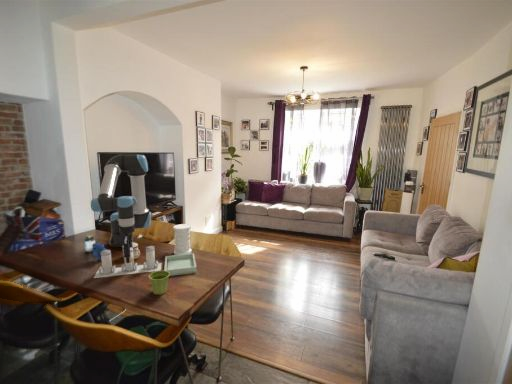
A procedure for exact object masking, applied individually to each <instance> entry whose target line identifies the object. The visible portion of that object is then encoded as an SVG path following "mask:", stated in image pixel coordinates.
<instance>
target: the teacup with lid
mask: <svg viewBox="0 0 512 384" xmlns="http://www.w3.org/2000/svg"><path fill="white" fill-rule="evenodd" d="M132 246H133V250H134V252H133V256H134V260H136V259H138V258H139V257H140V256H141V251H140V249H139V244H138V243H137V242H134V241H133V242H132ZM121 248H122V258H123V260H124V257H123V256H124V246H122V247H121Z"/></svg>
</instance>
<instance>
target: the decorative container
mask: <svg viewBox="0 0 512 384" xmlns="http://www.w3.org/2000/svg"><path fill="white" fill-rule="evenodd" d="M173 230H174V232H173V234H174V250H173V254H174V255H181V254H191V253H192V252H193V249H192V248H191V234H190V233H191V224H187V223H181V224H175V225H173Z"/></svg>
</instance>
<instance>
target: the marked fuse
mask: <svg viewBox="0 0 512 384" xmlns="http://www.w3.org/2000/svg"><path fill="white" fill-rule="evenodd" d="M130 256H131V266H132V267H131V268H126V263H125V258H124V259H123V260H124V267H125V271H132V270H134V266H135V259H134V256H133V248H132V247H130Z"/></svg>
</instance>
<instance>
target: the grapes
mask: <svg viewBox="0 0 512 384" xmlns="http://www.w3.org/2000/svg"><path fill="white" fill-rule="evenodd" d="M91 245H92V246H91V247H92V248H91V252H92V255H93V257H94V258H95V259H97V261H101V251H104V250H108V249H107V248H105V245H104V244H103V243H100V241H99V242H98V241H96V242H95V243H93V244H91Z"/></svg>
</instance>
